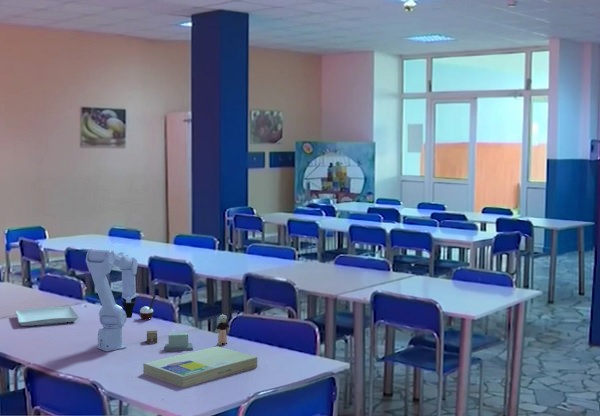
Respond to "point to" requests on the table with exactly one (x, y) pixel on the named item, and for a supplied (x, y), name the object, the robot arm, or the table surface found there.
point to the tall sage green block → (178, 339)
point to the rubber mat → (178, 347)
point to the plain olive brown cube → (151, 336)
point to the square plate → (46, 316)
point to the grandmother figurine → (222, 330)
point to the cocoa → (147, 311)
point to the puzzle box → (199, 366)
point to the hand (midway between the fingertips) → (129, 315)
